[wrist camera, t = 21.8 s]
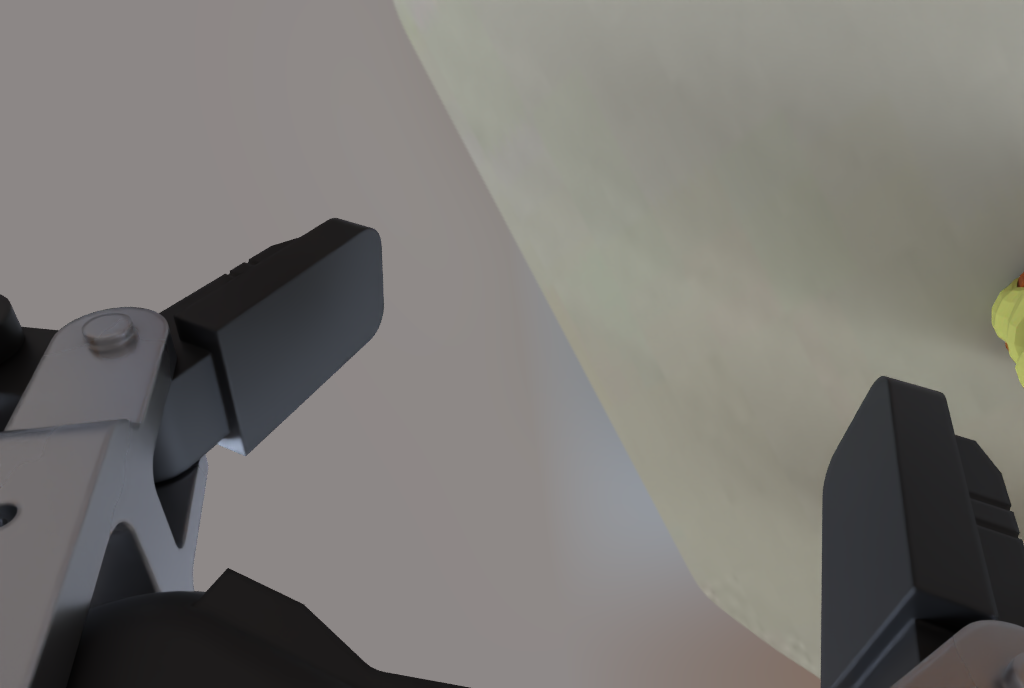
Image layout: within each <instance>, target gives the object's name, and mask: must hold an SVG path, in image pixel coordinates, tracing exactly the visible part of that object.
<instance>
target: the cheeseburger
mask: <svg viewBox="0 0 1024 688" xmlns="http://www.w3.org/2000/svg"><path fill="white" fill-rule="evenodd" d="M992 325H993V327H994V329H995V331H996V333H997V335H998V337H999V338H1001V339H1002V340H1004V341H1005V344H1006V348H1007V349H1008V351H1009V353H1010V356H1011V358H1012V359H1013V360H1014V362H1015V363H1016V366H1015V369H1016V372H1017V375H1018V378H1019V381H1020V383H1021V384H1022V386H1023V388H1024V272H1023V273H1022V274H1021V275H1020V277H1019V278H1017V279H1015V280H1014V281H1013V282H1012V283H1011V284H1010V285H1009V286H1008V287H1007V288H1005V289H1004V290H1002V291H1001V292H1000V294H999V295H998V297H997V299H996V301H995V303H994V305H993V307H992Z"/></svg>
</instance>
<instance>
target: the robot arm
mask: <svg viewBox="0 0 1024 688" xmlns="http://www.w3.org/2000/svg"><path fill="white" fill-rule="evenodd" d="M383 310H384V297H383V272H382V246H381V239H380V236H379V233H378V232H377V231H376V230H375V229H373V228H370V227H366V226H362V225H359V224H355V223H352V222H348V221H345V220H342V219H338V218H332V219H329V220H327V221H326V222H324V223H323V224H321V225H319V226H318V227H316V228H315V229H313V230H311V231H310V232H308V233H307V234H305V235H303V236H301V237H299V238H296V239H293V240H290V241H286V242H283V243H280V244H276V245H273V246H271V247H269V248H267V249H266V250H264V251H262V252H261V253H259V254H257V255H256V256H254V257H252V258H251V259H249V262H248V263H242V264H241V265H239V266H237V267H236V268H234V269H233V270H231V271H230V274H229V275H227V274H224V275H222V276H221V277H219V278H217V279H216V280H214V281H212V282H211V283H209V284H207V285H206V286H204V287H202V288H201V289H199V290H197V291H196V292H194V293H192V294H191V295H189V296H188V297H186V298H184V299H183V300H181V301H179V302H177V303H176V304H174V305H172V306H171V307H169V308H167V309H166V310H164V311H162V312H161V313H156V312H155V311H152V310H149V309H144V308H136V307H120V308H111V309H106V310H102V311H97V312H93V313H90V314H88V315H85V316H82V317H80V318H78V319H75V320H74V321H72V322H70V323H68V324H67V325H65V326H64V327H63V328H61V329H60V330H59V331H58V330H49V329H38V328H27V327H21V325H20V323H19V321H18V319H17V317H16V315H15V312H14V310H13V308H12V306H11V304H10V302H9V300H8V299H7V298H6V297H4V296H2V295H0V688H469V687H463V686H458V685H452V684H447V683H442V682H436V681H430V680H425V679H419V678H414V677H409V676H403V675H398V674H392V673H386V672H382V671H379V670H376V669H374V668H372V667H370V666H369V665H368V664H366V663H365V662H364V661H363V660H362V659H361V658H360V657H359V656H357V654H356V653H354V652H353V651H352V650H351V649H350V648H349V647H348V646H347V645H346V644H345V643H344V642H343V641H342V640H341V639H340V638H339V637H337V636H336V635H335V634H334V633H333V632H332V631H331V630H330V629H329V628H328V627H327V626H326V625H325V624H324V623H323V622H322V621H321V620H320V619H318V618H317V617H316V616H315V615H314V614H313V613H312V612H311V611H310V610H309V609H308V608H307V607H306V606H305V605H303V604H302V603H300V602H298V601H295V600H293V599H291V598H289V597H287V596H285V595H283V594H281V593H279V592H277V591H275V590H273V589H270V588H268V587H266V586H264V585H262V584H260V583H258V582H256V581H254V580H252V579H250V578H248V577H246V576H244V575H241V574H239V573H237V572H235V571H233V570H231V569H229V568H228V569H227V570H226V571H225V572H224V573H223V574H222V575H221V576H220V577H219V578H218V579H217V581H216V582H215V583H214V584H213V585H212V586H211V587H210V588H209V589H208V590H207V591H206V592H199V591H194V586H193V564H194V557H195V550H196V544H197V537H198V530H199V524H200V518H201V512H202V505H203V499H204V492H205V486H206V480H207V474H208V462H207V458H206V455H205V454H206V453H207V452H208V451H209V450H210V449H211V448H213V447H214V446H215V445H216V444H218V445H220V446H223V447H225V448H227V449H230V450H232V451H234V452H237V453H239V454H242V455H244V456H246V455H247V454H249V453H250V452H251V451H252V450H253V449H254V448H255V447H256V446H257V445H258V444H259V443H260V442H261V441H262V440H264V439H265V438H266V437H267V436H268V435H269V434H270V433H271V432H272V431H273V430H274V429H275V428H276V427H277V426H279V425H280V424H281V423H282V422H283V421H284V420H285V419H286V418H287V417H288V416H289V415H290V414H291V413H292V412H294V411H295V410H296V409H297V408H298V407H299V406H300V405H301V404H302V403H303V402H304V401H305V400H306V399H308V398H309V396H311V395H312V394H313V393H314V392H315V391H316V390H317V389H318V388H319V387H320V386H321V385H322V384H323V383H325V382H326V381H327V380H328V379H329V378H330V377H331V376H332V375H333V374H334V373H335V372H336V371H338V370H339V369H340V368H341V367H342V366H343V365H344V364H345V363H346V362H347V361H348V360H349V359H350V358H351V357H353V355H355V354H356V353H357V352H358V351H359V350H360V349H361V348H362V347H363V346H364V345H365V344H366V343H367V342H369V341H370V340H371V338H372V337H373V336H374V335H375V333H376V332H377V330H378V328H379V325H380V323H381V320H382V316H383ZM1010 507H1011V503H1010V499H1009V496H1008V493H1007V490H1006V486H1005V483H1004V480H1003V477H1002V473H1001V472H1000V471H999V470H998V469H997V467H996V466H995V465H994V464H993V462H992V461H991V460H990V459H989V457H988V456H987V455H986V454H985V452H984V451H983V450H982V449H981V447H980V446H979V445H978V444H977V442H976V441H974V440H970V439H967V438H964V437H960V436H957V435H955V434H954V429H953V425H952V421H951V417H950V413H949V409H948V405H947V401H946V398H945V396H944V394H943V393H941V392H938V391H935V390H931V389H928V388H924V387H921V386H917V385H914V384H910V383H907V382H903V381H900V380H896V379H893V378H889V377H886V376H881V377H879V378H878V379H877V380H876V381H875V382H874V384H873V385H872V387H871V388H870V390H869V392H868V394H867V395H866V397H865V399H864V401H863V402H862V404H861V406H860V408H859V410H858V411H857V413H856V415H855V417H854V419H853V420H852V422H851V424H850V426H849V427H848V429H847V431H846V433H845V435H844V436H843V438H842V440H841V442H840V443H839V445H838V447H837V449H836V451H835V453H834V454H833V457H832V459H831V461H830V464H829V467H828V470H827V473H826V477H825V481H824V486H823V508H822V611H821V688H1024V545H1023V541H1022V540H1021V539H1018V535H1019V533H1020V532H1019V528H1018V525H1017V522H1016V519H1015V516H1014V512H1012V511H1010Z"/></svg>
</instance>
